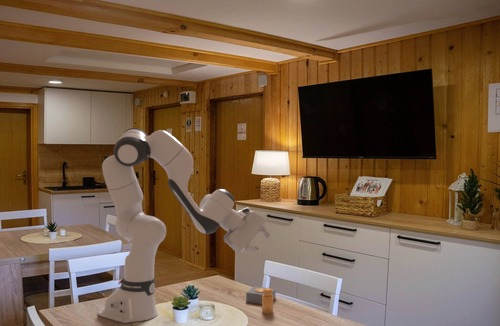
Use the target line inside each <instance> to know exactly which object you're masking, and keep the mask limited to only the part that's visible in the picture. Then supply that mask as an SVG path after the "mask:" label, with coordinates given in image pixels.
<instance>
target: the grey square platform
mask: <svg viewBox="0 0 500 326" xmlns="http://www.w3.org/2000/svg"><path fill="white" fill-rule="evenodd" d="M265 288H266V287H261V286H255V285H254V286H253V287H252V288H250V289H249V290H248V291H247V292H246V294H245V295H246V300H245V301H246V303H253V304H259V305H262V295H264V289H265ZM269 288H270V287H269ZM270 289H272V295H273V301H274V300H275V299H276V290H277V289H276V288H270Z"/></svg>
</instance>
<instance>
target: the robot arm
mask: <svg viewBox="0 0 500 326" xmlns="http://www.w3.org/2000/svg"><path fill="white" fill-rule="evenodd" d="M150 158H151V159H153V160H154V161H155V162H157V163H158V164H159V165H160V166H161V167H162V169H164V171H165V172H166V174H167V179H168V182H167V185H168V187H169V190H170V191H171V192H172V194H173V195H174V197H175V198H176V200H177V201H178V203H180V206H181V207H182V208H183V209H184V211H185V212H186V214H187V215H188V216H189V218H190V220H191V222H192V223H193V225H194V227H195V228H196V229H197V230H198V231H199V232H200V233H201V234H204V235H209V234H213V233H214V234H215V232H216V231H217V230H218V228H219V227H221V228H222V230H224V231H226V234H224V236H223V242H224V243H225V244H227V245H228V246H229V247H230V248H231V249H232V250H233V251H234V252H235V253H237V254H242V253H243V252H244V250H246V251H250V252H253V253H255V254H257V253H258V252H259V250H260V248H259V247H258V246H257V245H255V246H251V244H250V243H251V242H252V241H253V239H254V238H255V237H256V236H257V235H258V233H259V232H260V233H263V234H264V235H263V237H264V238H266V239H269V238H270V236H271V233H269V232H268V230H267V229H266V227H265V225H266V223H267V221H266V219H265V217H264V216H262V215H261V214H260V213H257V212H256V211H253V210H252V208H250V207H248V206H247V207H245V208H243V209H240V210H238V211H237V210H236V209H234V205H235V197H234V195H233V194H232V193H231V192H229V191H228V190H226V189H223V188H219V189H217V188H216V190H215V191H213V192H212V193H208V194H205V196H203V197H202V199H201V200H200V202H199V206H198V204H197V203H196V202H195V201H194V199H193V197H192V196H191V195H190V193H189V191H188V189H189V188H188V187H189V186H188V185H189V181H190V177H191V175H192V173H193V169H194V158H193V156H192V154H191V153H190V151H189V149H188V148H186V147H185V146H184V144H182V143H181V142H180V141H179V140H178V139H177V138H176V137H174V136H173V135H172V134H171V133H170V132H167V131H166V130H163V129H158V130H156V131H154V132H152V133H151V134H150V135H148V134H147V133H146V132H145V131H144V130H142V129H141V128H137V127H132V128H128V129H126V130H125V131H124V132H123V133H122V134H121V135H120V136H119V137H118V139H117V141H116V143H115V144H114V147H113V155H110V156H108V157H107V158H105V159H104V161H103V162H102V164H101V170H102V175H103V178H104V181H105V182H104V183H105V185H106V187H107V190H108V192H109V194H110V198H111V201H112V202H113V205H114V208H115V213H116V222H115V230H116V233H117V234H118V235H119V236H120V237H121V238H123V239H124V240H126V241H129V242H131V248H130V251H129V253H128V255H126V257H125V259H124V278H122V279H120V280H118V281H117V282H118V283H117V284H118V285H120V286H119V288H118V289H117V290H115V291H113V292H112V293H110V294H109V295H108V297H107V298H106V300H105V304H104V307H103V308H101V309H100V310H99V311H98V312H97V313H98V314H97V315H98V316H99V317H103V318H104V319H105V318H106V319H109V320H112V321H116V322H119V323H121V324H122V323H123V324H127V323H132V322H143V321H148V320H151V319H153V318H156V317H157V315H158V311H157V307H156V299H155V291H156V289H155V288H156V286H155V285H156V278H155V259H156V255H157V250H158V248H159V245H160V244H161V243H162V242H163V241H164V240H165V238H166V236H167V227H166V225H165V223H164V221H162V220H160V218H157V217H156V216H153V215H148V214H145V212H144V211H143V206H142V205H143V204H142V202H143V200H144V194H143V191H142V189H141V186H140V184H139V180H138V178H137V176H136V173H135V170H134V166H137V165H139V164H141V163H143V162H145V161H147V160H149V159H150Z"/></svg>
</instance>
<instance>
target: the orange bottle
mask: <svg viewBox="0 0 500 326" xmlns="http://www.w3.org/2000/svg"><path fill="white" fill-rule="evenodd" d="M264 288H265V289H264V295H262V304H261V313H262V314H266V315H271V314H273V313H274V300H273V295H272V289H273V288H271V289H270V287H264Z"/></svg>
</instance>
